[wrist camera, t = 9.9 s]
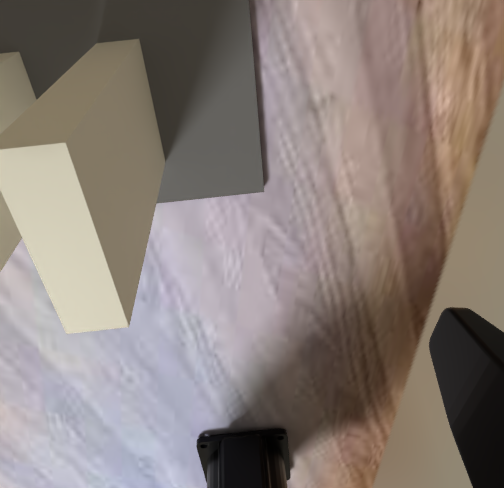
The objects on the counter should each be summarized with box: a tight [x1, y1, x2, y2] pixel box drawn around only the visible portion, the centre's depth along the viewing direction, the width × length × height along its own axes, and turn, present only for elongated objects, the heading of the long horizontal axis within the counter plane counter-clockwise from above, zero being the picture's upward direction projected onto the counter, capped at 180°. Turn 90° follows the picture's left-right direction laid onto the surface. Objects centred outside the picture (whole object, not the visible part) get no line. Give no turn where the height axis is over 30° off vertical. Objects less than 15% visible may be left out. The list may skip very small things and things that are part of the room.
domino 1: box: [0, 39, 165, 334], centre depth 14 cm, size 2×5×10 cm, turn 5°
